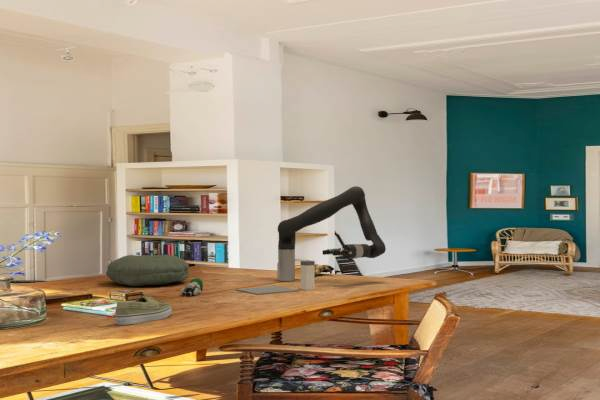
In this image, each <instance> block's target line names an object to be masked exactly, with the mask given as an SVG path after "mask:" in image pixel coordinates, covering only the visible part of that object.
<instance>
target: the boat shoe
mask: <svg viewBox="0 0 600 400" xmlns="http://www.w3.org/2000/svg"><path fill="white" fill-rule="evenodd" d="M172 312H173V310H172V306H171V305H170V304H169V303H168V302H167V301H157V300H156V299H154V298H153V296H145V295H144V296H140V297H138V298H137V299H135V300H119V301H117V302H116V309H115V316H114V317H115V318H114V321H115V325H117V326H130V325H137V324H138V325H139V324H142V323H146V322H153V321H160V320H164V319H167V318H168V317H170V316H171V315H172Z"/></svg>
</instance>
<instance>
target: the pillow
mask: <svg viewBox="0 0 600 400" xmlns="http://www.w3.org/2000/svg"><path fill="white" fill-rule="evenodd" d="M189 265H190V264H189V263H188V262H187V261H185V260H184V259H183V258H181V257H179V256H177V255H175V254H159V255H157V254H154V255H153V254H152V255H151V254H149V255H147V254H141V255H136V254H127V255H124V256H122V257H119V258H116V259H114V260H113V261H111V262H110V263H109V264H108V265H107V268H106V269H107V270H106V272H105V275H106V277H108V279H109V280H111V281H113V282H114V283H117V284H119V285H121V286H131V287H146V286H162V285H167V284H172V283H182V282H185V281H186V280H187V279H188V278H189V275H190V274H189V268H190V266H189Z"/></svg>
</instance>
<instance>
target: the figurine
mask: <svg viewBox="0 0 600 400" xmlns="http://www.w3.org/2000/svg"><path fill="white" fill-rule="evenodd" d="M334 270H335V268H334V267H332V266H331V265H328V264H315V277H318V276H321V277H322V275H323V273H326V274H327V273H329V275H332V274H333V271H334Z"/></svg>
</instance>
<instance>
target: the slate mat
mask: <svg viewBox="0 0 600 400" xmlns="http://www.w3.org/2000/svg"><path fill="white" fill-rule="evenodd" d="M235 291H237V292H238V291H239V292H242V293H247V294H252V295H256V296H257V295H259V296H261V295H268V294H269V295H270V294H271V293H272V294H281V293H291V292H292V293H294V292H299V291H300V290H299V289H295V288H291V287H290V288H289V287H284V286H278V285H272V286H261V287H260V286H259V287H247V288H235ZM272 294H271V295H272Z"/></svg>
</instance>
